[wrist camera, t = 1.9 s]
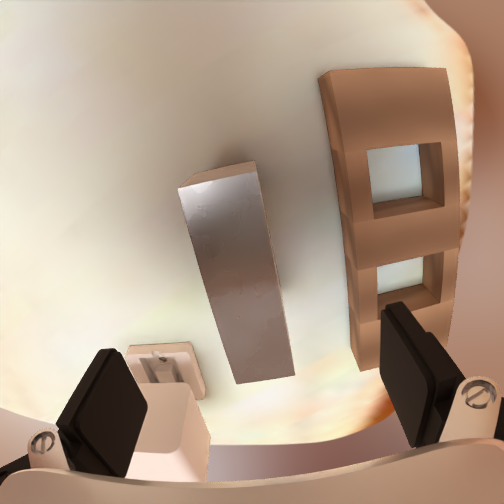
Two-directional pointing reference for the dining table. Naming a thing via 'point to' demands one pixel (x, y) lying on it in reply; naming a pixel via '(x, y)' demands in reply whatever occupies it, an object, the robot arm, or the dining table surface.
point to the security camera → (169, 415)
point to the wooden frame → (397, 211)
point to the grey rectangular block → (239, 269)
